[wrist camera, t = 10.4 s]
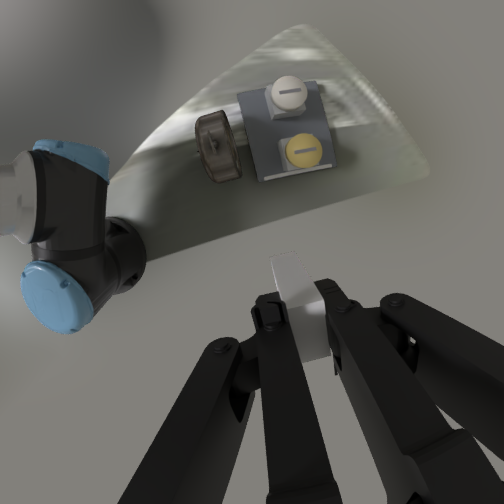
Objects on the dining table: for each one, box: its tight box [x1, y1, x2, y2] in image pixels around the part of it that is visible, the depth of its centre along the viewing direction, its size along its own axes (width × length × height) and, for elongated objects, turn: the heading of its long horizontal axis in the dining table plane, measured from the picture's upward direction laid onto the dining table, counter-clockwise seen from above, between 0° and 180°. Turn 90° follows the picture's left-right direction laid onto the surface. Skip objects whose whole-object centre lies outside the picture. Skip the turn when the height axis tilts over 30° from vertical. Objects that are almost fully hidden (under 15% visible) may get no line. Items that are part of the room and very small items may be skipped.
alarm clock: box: [195, 110, 242, 183], centre depth 39 cm, size 11×5×16 cm, turn 14°
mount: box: [237, 81, 337, 182], centre depth 43 cm, size 14×16×7 cm
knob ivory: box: [271, 76, 308, 111], centre depth 39 cm, size 5×5×8 cm
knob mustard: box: [285, 133, 322, 168], centre depth 41 cm, size 5×5×8 cm
